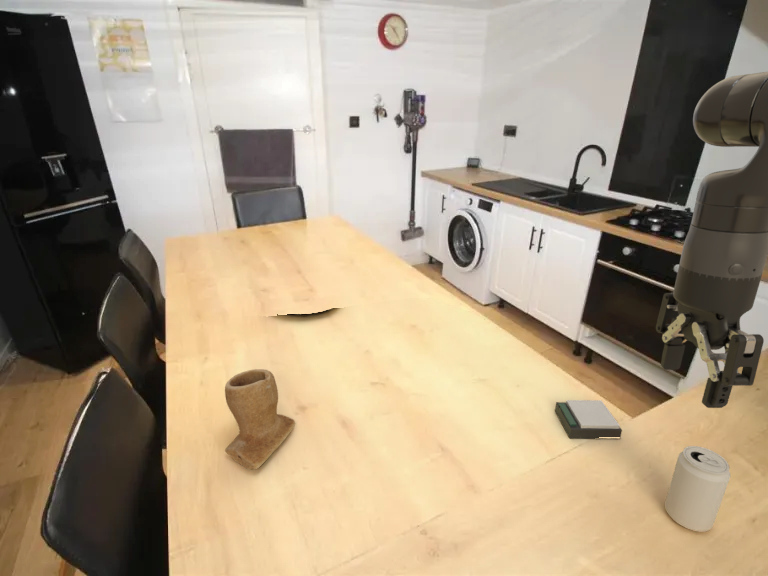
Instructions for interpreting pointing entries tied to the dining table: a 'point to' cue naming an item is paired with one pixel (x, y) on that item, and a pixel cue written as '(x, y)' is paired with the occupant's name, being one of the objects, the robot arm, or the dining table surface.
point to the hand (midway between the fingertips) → (689, 385)
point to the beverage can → (697, 488)
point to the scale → (587, 419)
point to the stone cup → (255, 417)
